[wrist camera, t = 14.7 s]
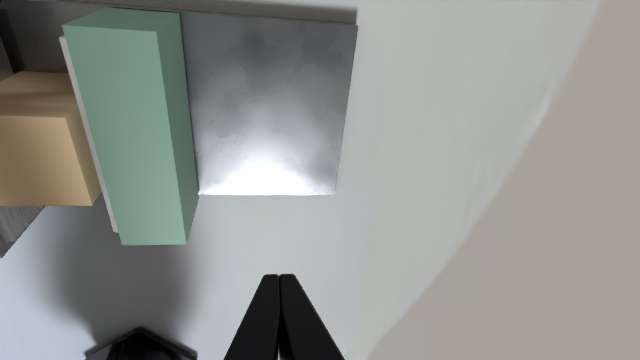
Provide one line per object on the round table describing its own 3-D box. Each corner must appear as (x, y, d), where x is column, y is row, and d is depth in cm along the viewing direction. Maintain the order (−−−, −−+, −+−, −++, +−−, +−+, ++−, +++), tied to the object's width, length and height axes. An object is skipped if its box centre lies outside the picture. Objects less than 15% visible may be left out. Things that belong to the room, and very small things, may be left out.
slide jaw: (179, 13, 16) (155, 31, 13) (198, 197, 21) (186, 244, 18) (95, 6, 15) (48, 24, 12) (137, 197, 21) (112, 245, 17)
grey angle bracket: (355, 24, 18) (386, 52, 13) (333, 189, 23) (349, 251, 19) (-175, -19, 15) (-383, -1, 10) (-59, 186, 20) (-158, 261, 15)
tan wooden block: (113, 75, 17) (65, 117, 13) (129, 149, 19) (92, 205, 15) (20, 71, 17) (-62, 113, 13) (47, 147, 19) (-15, 205, 15)
